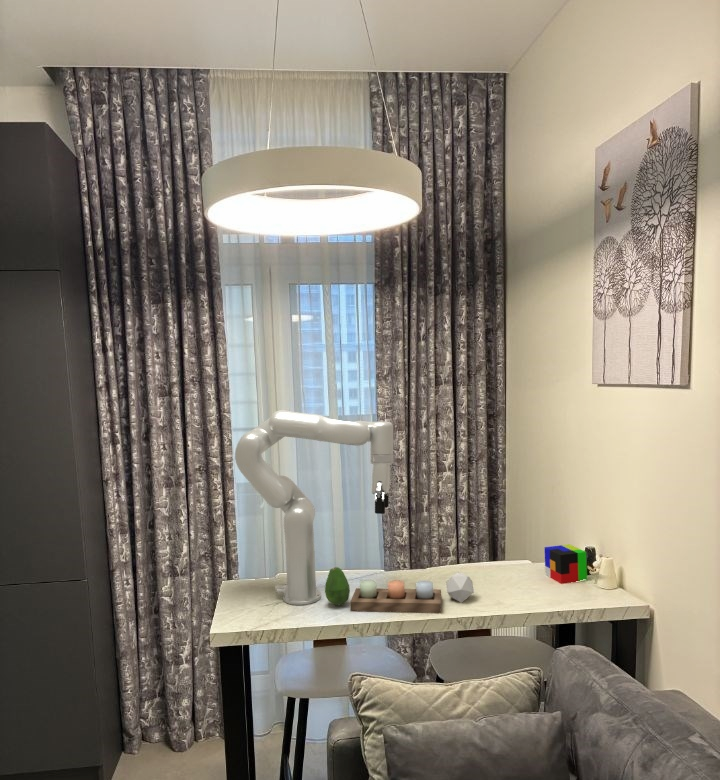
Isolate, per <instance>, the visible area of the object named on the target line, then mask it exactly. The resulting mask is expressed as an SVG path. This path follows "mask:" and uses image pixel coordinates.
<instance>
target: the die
mask: <svg viewBox="0 0 720 780" xmlns="http://www.w3.org/2000/svg"><path fill="white" fill-rule="evenodd" d="M445 585H446V587H445V588H446V593H447V594H448V595H449V597H451V598H452V599H453V600H456V601H457V602H459V603H462V602H464V601H465V600H467V599H468V598H469V597H470V596H471V595H473V594H474V593H475V591H474V584H473V581H472V579H471V578H470V577H469V576H468V575H467V574H464V573H462V572H461V571H458V572H456V573H455V574H453V575H451V576H450V577H449V578H448V579H447V580H446V581H445Z"/></svg>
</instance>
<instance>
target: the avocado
mask: <svg viewBox="0 0 720 780" xmlns="http://www.w3.org/2000/svg"><path fill="white" fill-rule="evenodd" d="M350 592H351V591H350V584H349V581H348V578H347V576H346V575H345V572H344V571H343V570H342V569H341V568H340V567H337V566H335V567H333V568H330V569H329V572H328V575H327V578H326V581H325V586H324V594H325V598H326V599H327V601H328V602H329V603H331V604H332V605H334V606H343V605H345V604H346V602H348V601H349V597H350Z"/></svg>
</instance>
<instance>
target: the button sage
mask: <svg viewBox="0 0 720 780" xmlns="http://www.w3.org/2000/svg"><path fill="white" fill-rule="evenodd" d="M359 588H360V596H361V597H363V598H373V597H375V596H376V595H377V590H376V589H377V581H376V580H374V579H364V580H361V581H360V582H359Z"/></svg>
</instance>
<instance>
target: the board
mask: <svg viewBox="0 0 720 780" xmlns="http://www.w3.org/2000/svg"><path fill="white" fill-rule="evenodd" d="M376 590H377V595H376V596H375V597H373V598H363V597H361V596H360V587H358V588H357V587H356V588H355V590H354V592H353V594H352V596H351V598H350V601H349V604H350V605H349V608H350V611H349V612H357V613H359V612H365V613H405V614H407V613H408V614H409V613H413V614H417V613H418V614H442V589H435V588H433V597H432V598H430V599H420V598H418V597H417V589H416V588H405V596H404V597H403V598H398V599H395V598H390V597H389V596H388V588H376Z"/></svg>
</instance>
